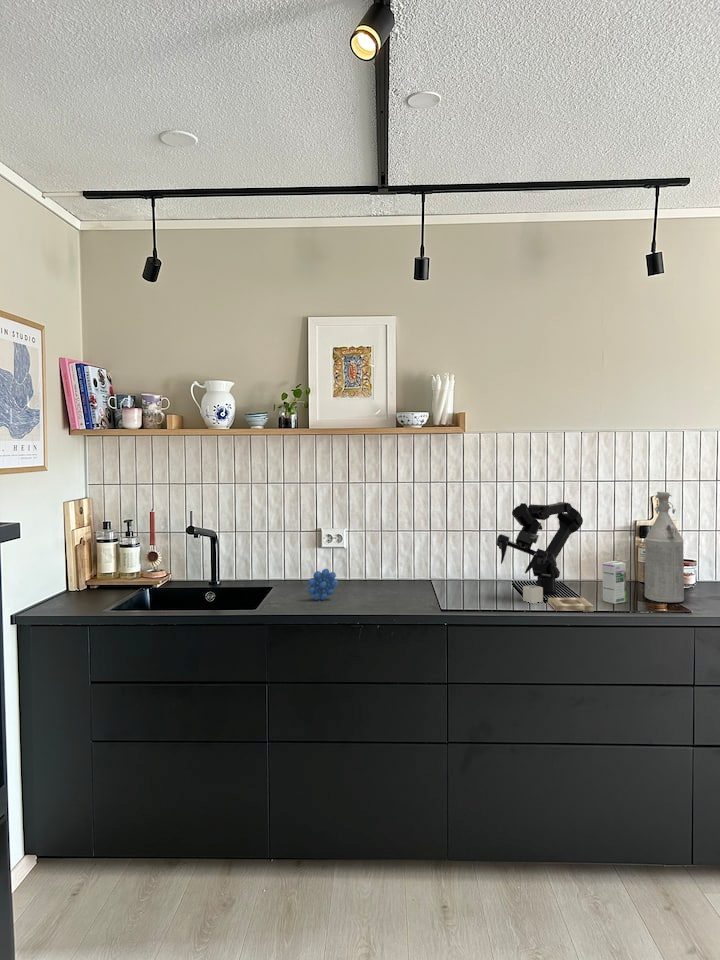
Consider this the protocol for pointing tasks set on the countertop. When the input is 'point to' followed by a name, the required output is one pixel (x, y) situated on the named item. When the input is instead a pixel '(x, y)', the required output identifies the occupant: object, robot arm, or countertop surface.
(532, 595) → the cream block
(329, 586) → the grapes
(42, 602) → the countertop surface
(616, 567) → the syrup box
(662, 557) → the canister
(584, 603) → the socket block
